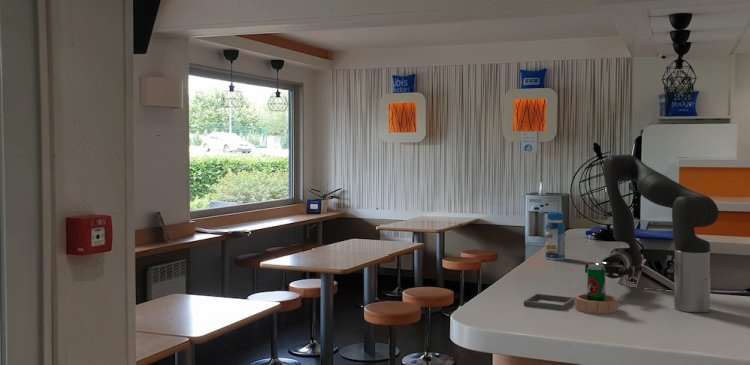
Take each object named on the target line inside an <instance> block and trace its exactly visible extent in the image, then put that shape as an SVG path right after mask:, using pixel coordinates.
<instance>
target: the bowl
mask: <svg viewBox="0 0 750 365" xmlns="http://www.w3.org/2000/svg"><path fill="white" fill-rule="evenodd" d="M573 305H574V309H575V310H576V311H578V312H580V313H584V314H590V315H591V314H592V315H611V314H612V315H613V314H617V313H618V312H619V306H620V298H619V297H617V296H615V295H610V294H607V293H605V301H588V300H587V292H584V293H579V294H576V295H575V296H574V303H573Z"/></svg>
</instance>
